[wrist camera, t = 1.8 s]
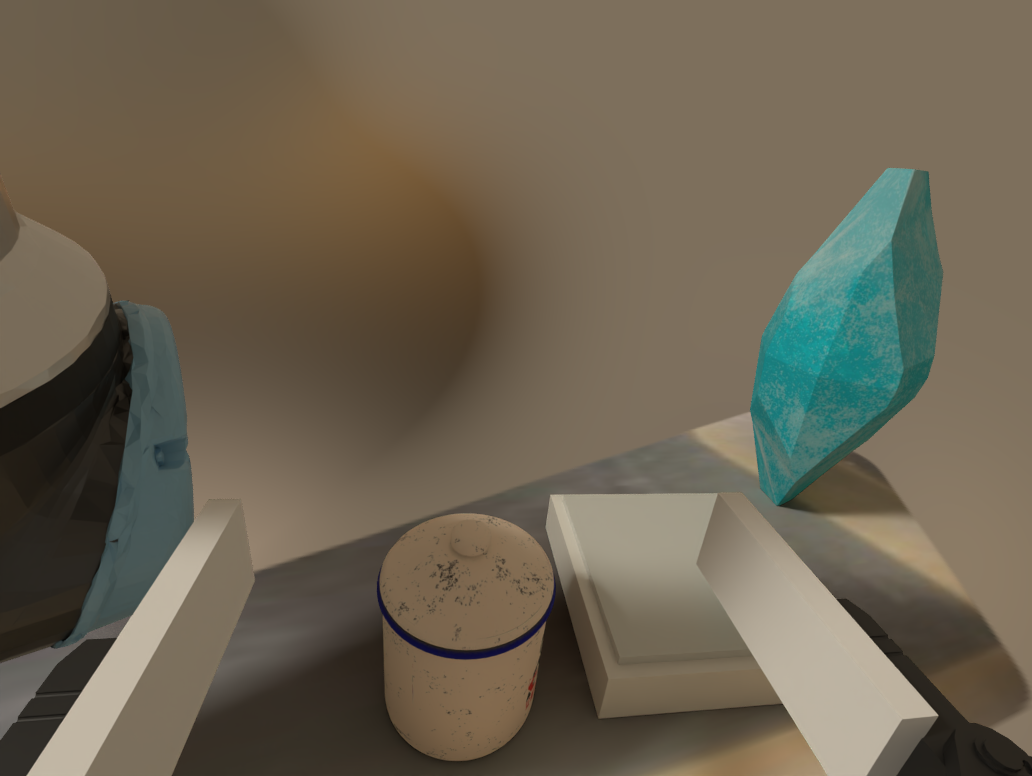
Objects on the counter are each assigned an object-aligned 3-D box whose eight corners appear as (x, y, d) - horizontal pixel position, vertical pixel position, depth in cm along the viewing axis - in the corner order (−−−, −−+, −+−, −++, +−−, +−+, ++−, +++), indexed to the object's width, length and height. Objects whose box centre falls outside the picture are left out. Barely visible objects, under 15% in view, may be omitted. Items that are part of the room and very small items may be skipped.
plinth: (598, 718, 29) (610, 671, 27) (545, 527, 43) (551, 488, 41) (847, 698, 31) (872, 654, 30) (719, 524, 46) (731, 487, 44)
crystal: (879, 510, 50) (1041, 183, 37) (805, 558, 42) (975, 171, 30) (766, 450, 59) (866, 169, 46) (689, 481, 51) (782, 157, 39)
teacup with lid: (563, 737, 28) (597, 578, 23) (393, 798, 24) (390, 628, 19) (493, 575, 38) (507, 441, 33) (366, 603, 34) (360, 458, 29)
